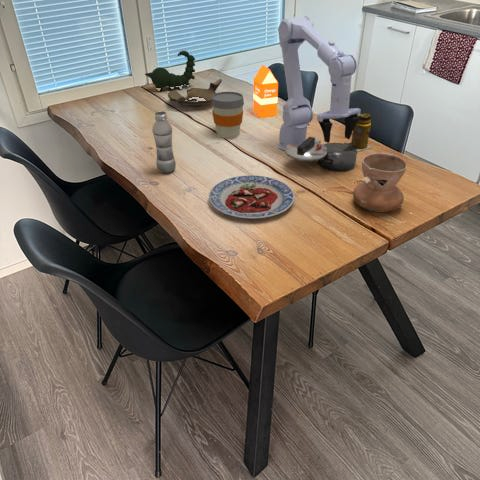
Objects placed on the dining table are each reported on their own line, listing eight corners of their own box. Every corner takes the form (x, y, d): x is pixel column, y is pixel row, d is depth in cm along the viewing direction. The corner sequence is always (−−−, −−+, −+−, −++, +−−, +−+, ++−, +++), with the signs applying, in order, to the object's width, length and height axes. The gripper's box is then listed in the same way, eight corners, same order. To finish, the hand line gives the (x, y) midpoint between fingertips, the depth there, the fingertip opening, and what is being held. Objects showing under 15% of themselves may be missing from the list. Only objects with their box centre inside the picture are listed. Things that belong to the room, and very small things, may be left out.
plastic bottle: (161, 176, 152) (154, 118, 140) (154, 168, 156) (147, 111, 145) (179, 172, 154) (174, 115, 142) (172, 164, 159) (166, 108, 147)
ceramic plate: (290, 228, 127) (291, 219, 125) (200, 219, 130) (199, 210, 129) (297, 184, 147) (297, 176, 146) (219, 178, 151) (219, 170, 149)
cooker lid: (298, 138, 164) (299, 128, 161) (335, 146, 158) (336, 136, 156) (278, 155, 152) (279, 144, 150) (317, 164, 146) (318, 153, 144)
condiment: (372, 147, 171) (377, 116, 164) (355, 152, 167) (360, 120, 160) (358, 140, 176) (362, 110, 169) (341, 145, 172) (346, 114, 165)
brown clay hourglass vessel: (377, 224, 128) (387, 179, 119) (338, 203, 137) (344, 160, 129) (416, 204, 137) (427, 160, 128) (376, 186, 146) (384, 144, 138)
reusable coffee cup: (208, 138, 178) (206, 100, 169) (218, 126, 188) (216, 90, 179) (239, 141, 175) (238, 103, 167) (247, 129, 185) (247, 92, 176)
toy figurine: (190, 87, 238) (143, 88, 228) (191, 48, 227) (141, 48, 218) (196, 92, 230) (147, 94, 221) (197, 52, 220) (146, 53, 211)
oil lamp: (160, 101, 214) (158, 85, 210) (217, 92, 226) (217, 76, 221) (178, 116, 198) (176, 99, 194) (239, 105, 210) (238, 88, 205)
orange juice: (268, 110, 204) (270, 63, 192) (277, 116, 197) (279, 69, 186) (252, 112, 202) (253, 65, 190) (260, 119, 195) (261, 70, 183)
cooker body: (299, 165, 158) (300, 152, 155) (322, 148, 170) (324, 135, 167) (342, 178, 150) (344, 164, 147) (363, 158, 162) (366, 145, 159)
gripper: (326, 103, 136) (323, 147, 143) (367, 97, 140) (363, 140, 147) (314, 98, 142) (312, 140, 149) (355, 92, 146) (351, 133, 153)
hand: (337, 139), depth 148 cm, fingers open, 7 cm apart
